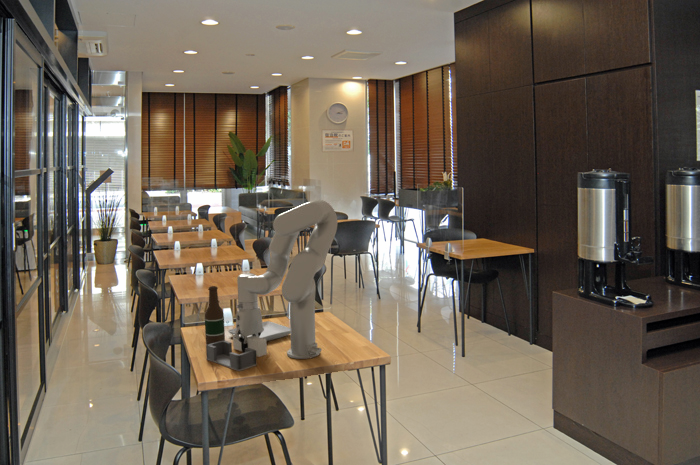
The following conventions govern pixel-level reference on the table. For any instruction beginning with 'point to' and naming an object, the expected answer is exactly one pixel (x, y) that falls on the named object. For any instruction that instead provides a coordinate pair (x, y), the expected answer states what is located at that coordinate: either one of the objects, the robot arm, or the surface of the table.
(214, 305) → the beer bottle
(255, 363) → the endcap jig
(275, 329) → the salad plate
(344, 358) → the table surface
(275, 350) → the table surface
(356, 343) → the table surface
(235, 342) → the beige rectangular block
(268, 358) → the table surface
